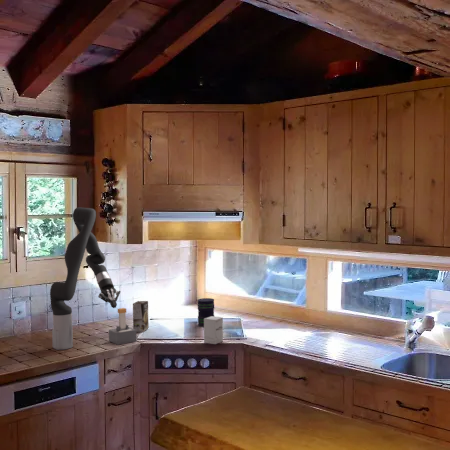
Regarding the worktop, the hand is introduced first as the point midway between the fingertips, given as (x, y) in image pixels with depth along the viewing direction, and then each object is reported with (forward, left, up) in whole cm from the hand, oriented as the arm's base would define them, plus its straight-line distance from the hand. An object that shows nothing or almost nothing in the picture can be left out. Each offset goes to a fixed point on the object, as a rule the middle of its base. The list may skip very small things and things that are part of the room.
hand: (114, 307), depth 299 cm
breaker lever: (0, -9, -10) cm, 13 cm away
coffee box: (+19, +7, -17) cm, 27 cm away
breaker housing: (0, -9, -17) cm, 19 cm away
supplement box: (+36, -41, -17) cm, 57 cm away
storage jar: (+55, -6, -17) cm, 58 cm away
